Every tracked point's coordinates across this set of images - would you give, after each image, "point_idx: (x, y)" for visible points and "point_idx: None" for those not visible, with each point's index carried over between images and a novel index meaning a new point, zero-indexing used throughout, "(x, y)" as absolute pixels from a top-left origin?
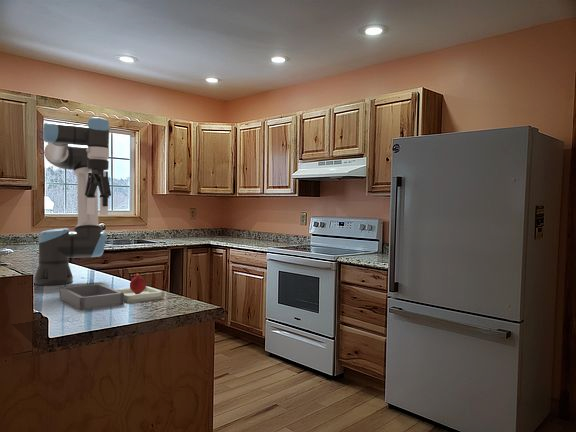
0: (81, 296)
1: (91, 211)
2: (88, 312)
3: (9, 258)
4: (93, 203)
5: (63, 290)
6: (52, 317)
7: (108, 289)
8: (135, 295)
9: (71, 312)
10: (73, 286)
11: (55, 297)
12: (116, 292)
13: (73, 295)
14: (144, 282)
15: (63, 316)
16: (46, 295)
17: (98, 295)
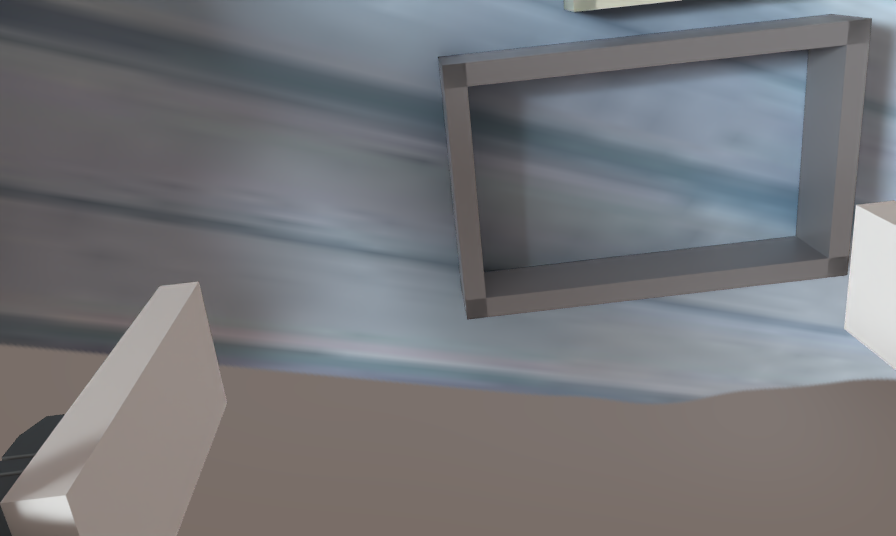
0: (810, 264)
1: (198, 362)
2: None
3: None
4: (137, 423)
5: (537, 308)
6: (867, 377)
7: (663, 64)
8: None
9: (829, 296)
10: (466, 244)
11: (414, 306)
12: (800, 49)
13: (720, 286)
14: None
15: None
16: (329, 338)
17: (843, 178)
